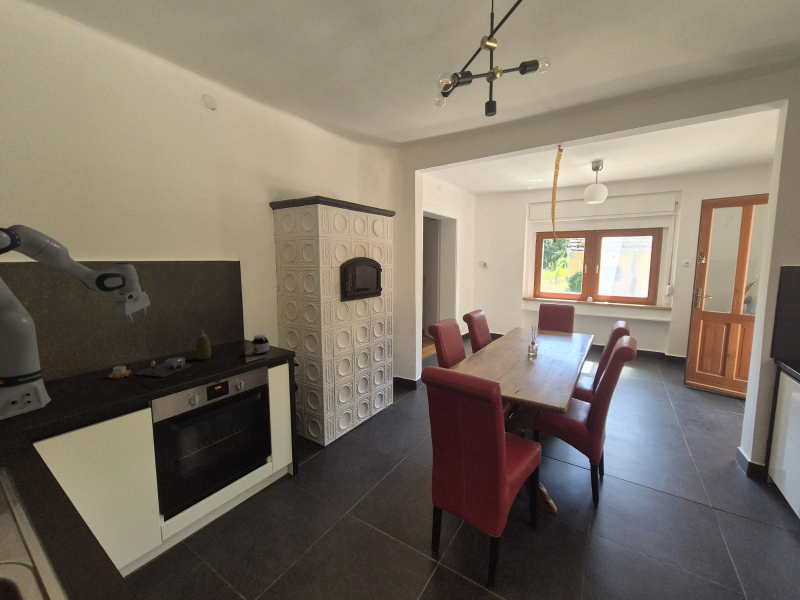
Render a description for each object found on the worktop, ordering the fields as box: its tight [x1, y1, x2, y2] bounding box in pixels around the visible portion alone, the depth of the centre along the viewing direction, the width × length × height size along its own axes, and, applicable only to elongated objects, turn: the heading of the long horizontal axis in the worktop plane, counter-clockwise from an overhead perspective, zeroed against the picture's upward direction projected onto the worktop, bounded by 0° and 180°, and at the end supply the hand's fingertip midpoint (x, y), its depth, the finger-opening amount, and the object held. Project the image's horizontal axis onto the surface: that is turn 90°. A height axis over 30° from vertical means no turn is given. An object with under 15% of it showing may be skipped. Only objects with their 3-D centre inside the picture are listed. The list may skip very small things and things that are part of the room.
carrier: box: [136, 356, 192, 378], centre depth 174 cm, size 17×17×6 cm
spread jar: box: [246, 333, 270, 356], centre depth 205 cm, size 12×11×12 cm
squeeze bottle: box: [195, 328, 212, 361], centre depth 195 cm, size 8×8×18 cm
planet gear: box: [108, 365, 132, 379], centre depth 167 cm, size 9×9×4 cm
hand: (137, 319), depth 170 cm, fingers open, 8 cm apart
